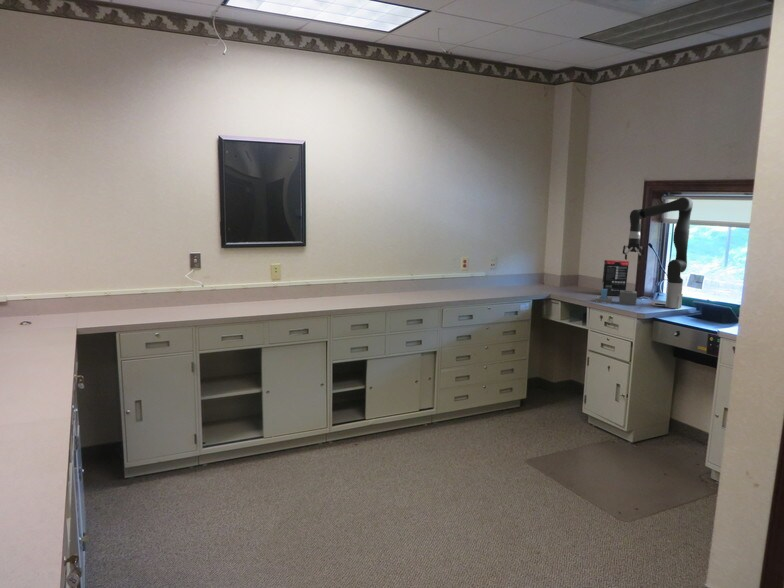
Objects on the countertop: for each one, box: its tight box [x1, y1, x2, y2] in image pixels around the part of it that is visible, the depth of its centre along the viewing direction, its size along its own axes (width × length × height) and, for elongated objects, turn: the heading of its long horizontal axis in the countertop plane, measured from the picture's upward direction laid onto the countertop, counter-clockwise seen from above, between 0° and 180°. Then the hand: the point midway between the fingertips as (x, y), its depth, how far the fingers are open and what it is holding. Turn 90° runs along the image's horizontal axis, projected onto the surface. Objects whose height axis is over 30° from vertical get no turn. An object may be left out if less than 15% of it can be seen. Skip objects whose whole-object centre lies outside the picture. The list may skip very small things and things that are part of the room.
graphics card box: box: [601, 259, 630, 297], centre depth 439 cm, size 17×7×27 cm, turn 84°
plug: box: [600, 288, 608, 299], centre depth 411 cm, size 4×4×9 cm
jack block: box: [594, 289, 638, 306], centre depth 408 cm, size 27×11×8 cm, turn 68°
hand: (632, 260), depth 410 cm, fingers open, 8 cm apart
